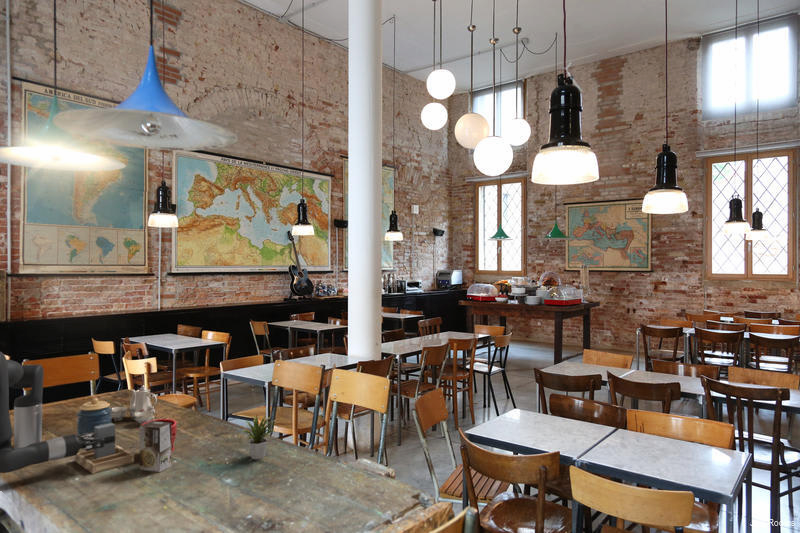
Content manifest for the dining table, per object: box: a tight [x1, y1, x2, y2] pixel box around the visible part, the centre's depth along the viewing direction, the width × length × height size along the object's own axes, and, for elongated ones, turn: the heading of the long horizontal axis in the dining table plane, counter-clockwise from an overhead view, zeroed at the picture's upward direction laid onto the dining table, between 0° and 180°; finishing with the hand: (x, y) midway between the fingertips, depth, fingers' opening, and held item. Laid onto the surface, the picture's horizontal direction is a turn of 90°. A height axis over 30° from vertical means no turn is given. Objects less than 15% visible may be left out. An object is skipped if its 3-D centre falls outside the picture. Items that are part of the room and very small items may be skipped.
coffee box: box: [139, 420, 172, 473], centre depth 188 cm, size 9×6×16 cm
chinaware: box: [111, 384, 158, 426], centre depth 245 cm, size 28×17×17 cm, turn 71°
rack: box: [74, 443, 135, 475], centre depth 193 cm, size 18×14×3 cm
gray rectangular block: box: [94, 422, 116, 459], centre depth 193 cm, size 4×6×13 cm, turn 140°
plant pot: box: [142, 418, 178, 453], centre depth 201 cm, size 13×13×12 cm
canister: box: [76, 397, 113, 435], centre depth 217 cm, size 13×13×18 cm
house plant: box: [241, 414, 277, 460], centre depth 198 cm, size 14×14×16 cm
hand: (110, 436), depth 194 cm, fingers open, 8 cm apart
